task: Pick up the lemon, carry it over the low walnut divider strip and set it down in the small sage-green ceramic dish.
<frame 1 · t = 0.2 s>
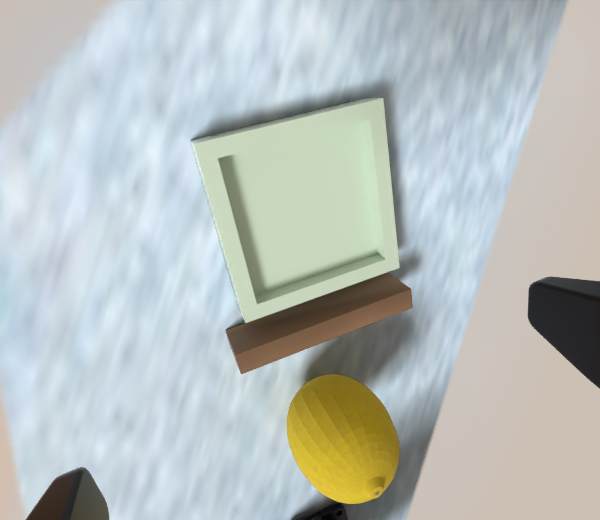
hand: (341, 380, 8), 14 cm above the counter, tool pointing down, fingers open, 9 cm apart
lemon: (311, 385, 26), on the counter
divider: (312, 308, 24), on the counter
dish: (301, 207, 22), on the counter
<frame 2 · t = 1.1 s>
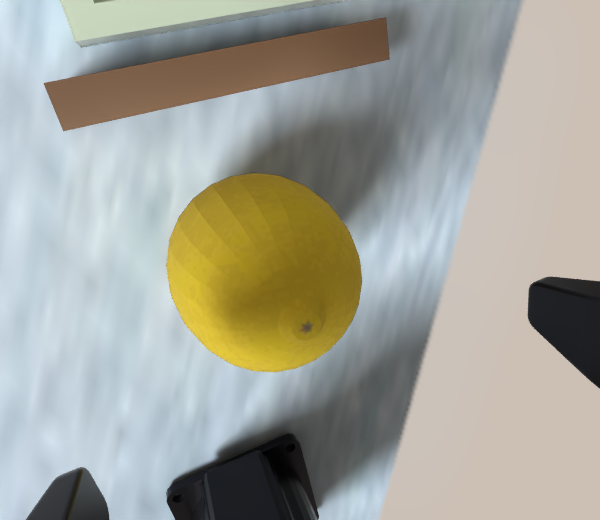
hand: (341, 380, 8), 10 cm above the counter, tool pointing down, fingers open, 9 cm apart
lemon: (233, 229, 17), on the counter
divider: (221, 74, 14), on the counter
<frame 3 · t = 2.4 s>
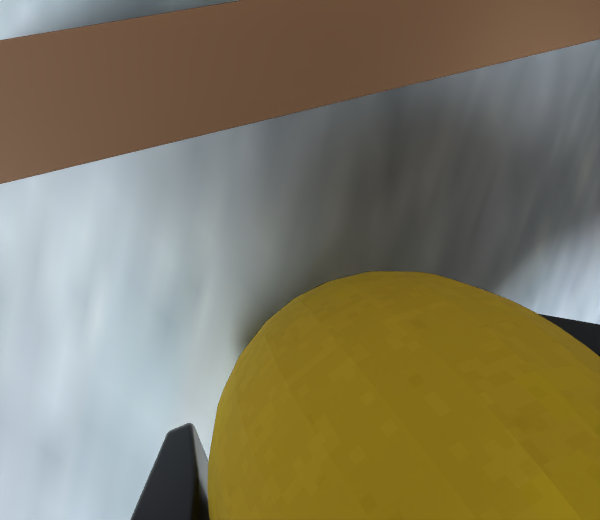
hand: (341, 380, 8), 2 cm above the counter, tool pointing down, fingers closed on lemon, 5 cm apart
lemon: (307, 334, 9), on the counter, touching gripper
divider: (306, 56, 7), on the counter
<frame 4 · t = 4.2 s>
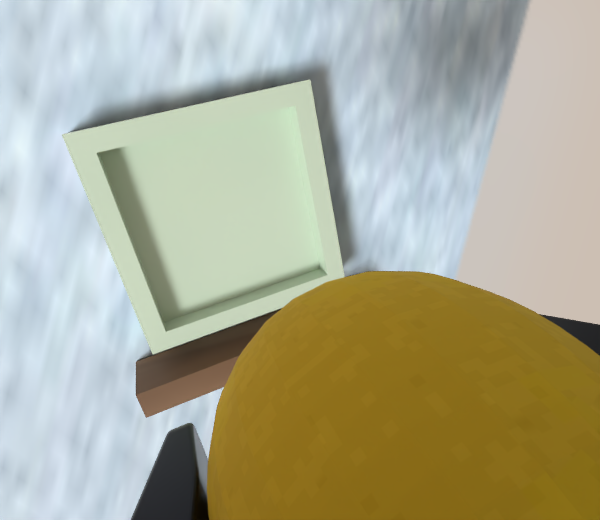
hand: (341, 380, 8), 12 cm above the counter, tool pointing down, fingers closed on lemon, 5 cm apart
lemon: (306, 335, 9), point 10 cm above the counter, touching gripper
divider: (244, 333, 20), on the counter
dish: (221, 214, 18), on the counter
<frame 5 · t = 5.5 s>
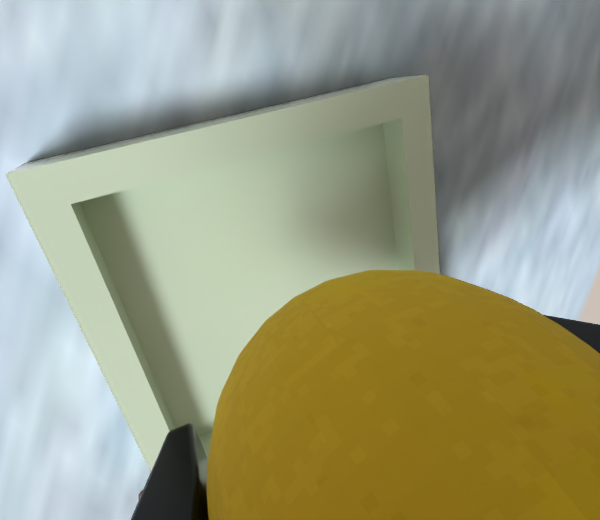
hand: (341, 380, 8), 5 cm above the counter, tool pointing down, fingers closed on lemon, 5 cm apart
lemon: (306, 334, 9), point 3 cm above the counter, touching gripper
dish: (270, 280, 12), on the counter
when the fingers open (3 cm above the counter, at t = 6.2 s): lemon drops 1 cm, resting on dish.
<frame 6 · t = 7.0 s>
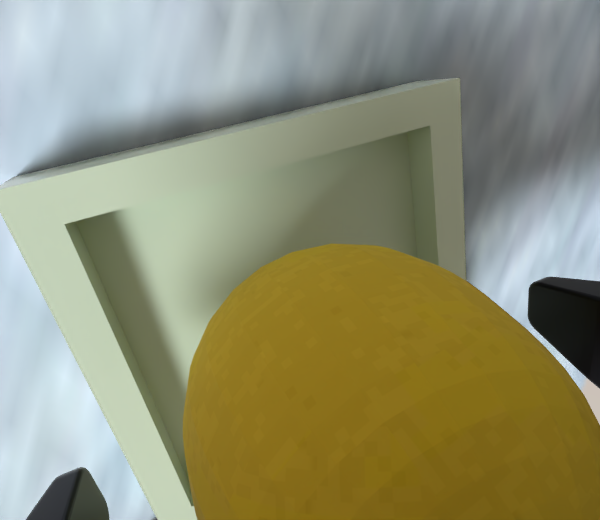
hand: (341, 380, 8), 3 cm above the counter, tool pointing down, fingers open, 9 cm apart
lemon: (281, 311, 11), resting on dish
dish: (283, 300, 11), on the counter
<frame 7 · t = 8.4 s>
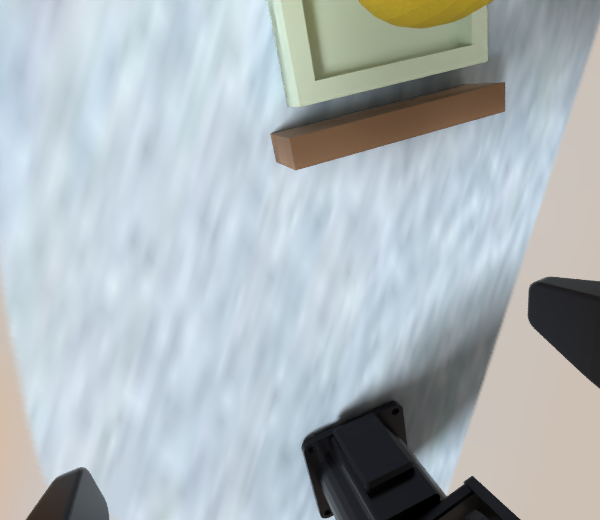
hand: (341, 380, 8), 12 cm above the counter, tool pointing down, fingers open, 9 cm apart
divider: (375, 121, 19), on the counter
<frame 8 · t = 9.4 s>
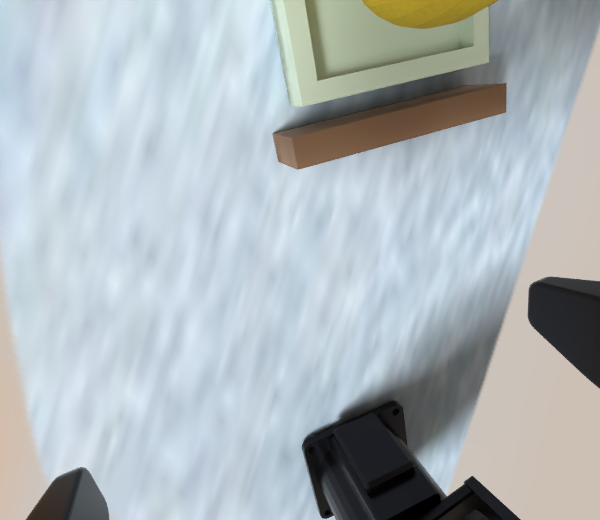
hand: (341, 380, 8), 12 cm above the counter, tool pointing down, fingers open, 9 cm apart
divider: (377, 121, 19), on the counter
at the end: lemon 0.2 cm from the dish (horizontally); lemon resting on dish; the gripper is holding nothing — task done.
